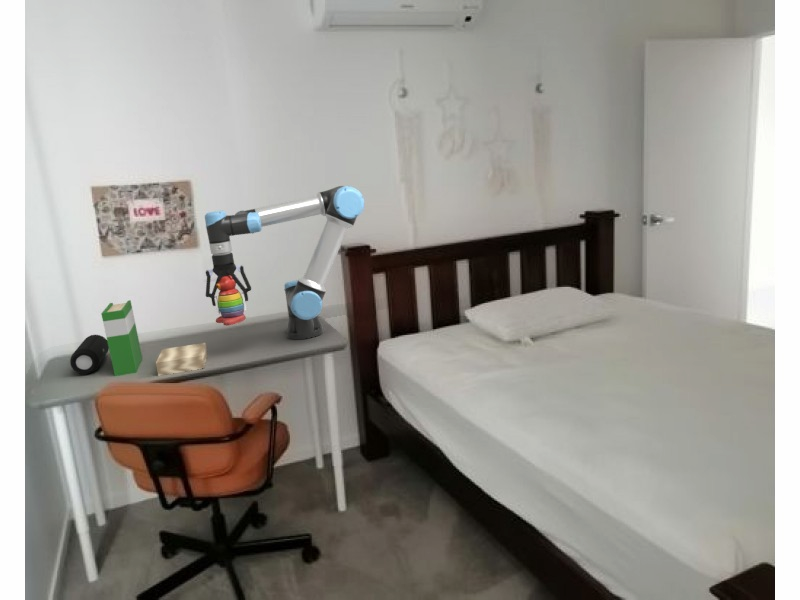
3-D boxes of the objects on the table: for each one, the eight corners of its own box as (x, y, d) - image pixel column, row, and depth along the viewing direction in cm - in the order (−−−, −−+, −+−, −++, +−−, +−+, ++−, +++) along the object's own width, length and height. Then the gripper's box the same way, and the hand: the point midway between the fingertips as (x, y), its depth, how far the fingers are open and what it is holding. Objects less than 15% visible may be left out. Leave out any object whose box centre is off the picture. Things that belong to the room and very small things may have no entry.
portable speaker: (100, 373, 225) (94, 348, 223) (71, 378, 223) (65, 353, 220) (112, 354, 249) (107, 331, 247) (86, 358, 247) (81, 335, 244)
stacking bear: (214, 322, 229) (205, 276, 225) (238, 315, 235) (230, 271, 231) (226, 326, 221) (218, 279, 217) (251, 319, 227) (244, 273, 223)
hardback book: (122, 361, 237) (110, 303, 231) (142, 358, 239) (130, 300, 233) (114, 376, 220) (101, 313, 215) (136, 372, 222) (123, 310, 217)
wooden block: (207, 354, 236) (205, 342, 234) (204, 368, 219) (201, 355, 218) (164, 361, 232) (162, 349, 231) (158, 375, 216) (155, 362, 215)
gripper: (190, 259, 216) (201, 318, 222) (252, 250, 221) (261, 309, 226) (192, 256, 223) (203, 314, 229) (252, 248, 228) (261, 305, 233)
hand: (232, 311), depth 227 cm, fingers closed on stacking bear, 9 cm apart
